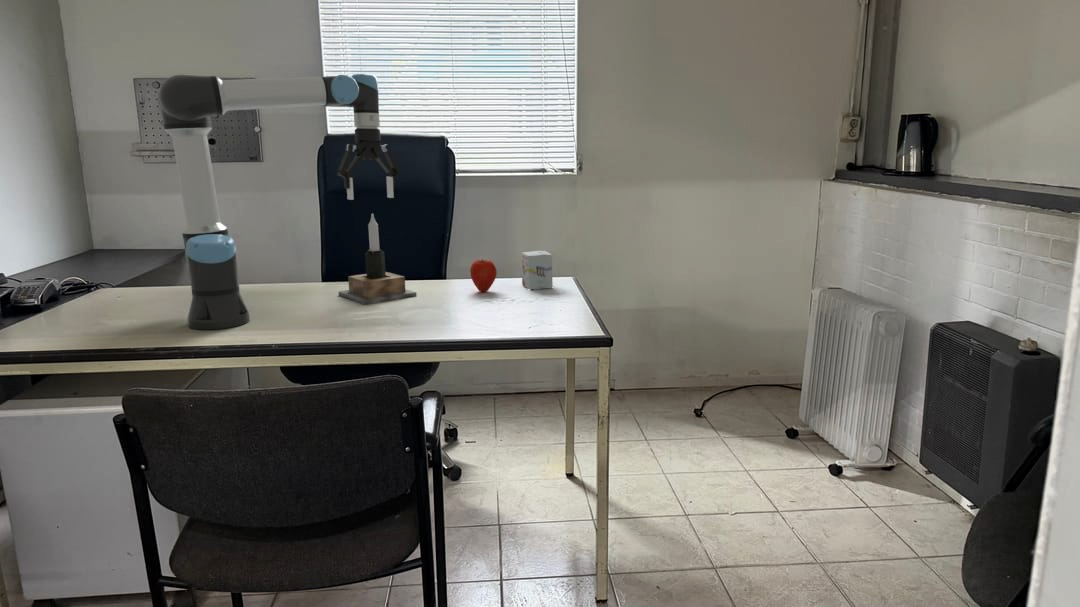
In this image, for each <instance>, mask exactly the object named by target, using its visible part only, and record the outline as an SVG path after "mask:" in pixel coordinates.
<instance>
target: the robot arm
mask: <svg viewBox="0 0 1080 607" xmlns="http://www.w3.org/2000/svg"><path fill="white" fill-rule="evenodd" d="M379 92H380V91H379V84H378V79H377V76H376V75H374V74H369V73H368V74H367V73H356V74H352V75H351V76H350V75H348V74H338V75H334V76H333V75H330V76H310V77H309V76H305V77H300V76H299V77H298V76H297V77H275V78H274V77H271V78H248V79H247V78H245V79H244V78H243V79H239V78H238V79H221V78H220V77H218V76H217V75H213V76H212V75H211V76H208V75H207V76H205V75H192V74H191V75H190V74H175V75H172V76H169V77H168V78H167V79H165V80H164V81H163V82H162V84H161V86H160V88H159V92H158V94H157V95H158V97H157V100H158V105H159V108H160V112H161V118H162V123H163V129H164V132H166V133H167V134H168V135H170V136H171V138H172V145H173V151H174V157H175V161H176V167H177V168H176V170H177V174H178V180H179V186H180V193H181V199H182V204H183V210H184V216H185V222H186V226H185V227H184V229H183V230H182V231H181V233H182V234H181V235H182V240H183V246H184V257H185V262H186V264H187V266H188V270H189V272H188V274H189V279H190V289H191V295H192V296H191V297H192V298H191V302H190V306H189V310H188V315H187V324H188V327H189V328H190V329H193V330H194V329H195V330H206V331H207V330H210V331H211V330H221V329H228V328H229V329H230V328H233V327H234V328H235V327H237V326H238V327H239V326H241V325H245V324H246V323H248V322H250V321H251V320H250V312H249V310H248V309H249V308H247V305H246V304H245V300H244V299H243V297H242V294H241V291H240V284H239V283H240V281H239V273H238V264H237V263H238V262H237V246H236V244H235V241H234V239H233V237H231V236H229V229H228V226H226V225H225V224H224V223H222V222H221V215H220V209H219V204H218V198H217V197H218V196H217V191H216V185H215V178H214V172H213V165H212V159H211V152H210V147H209V141H208V134H210V132H211V131H212V130H213V127H212V121H211V119H212V118H211V116H212V117H213V116H215V117H216V116H221V115H222V116H223V115H225V114H226V113H227V112H229V111H243V110H245V111H247V110H248V111H249V110H261V109H263V110H264V109H282V108H297V107H298V108H299V107H324V108H325V107H326V108H327V107H328V108H330V107H331V108H333V107H335V108H352V109H353V122H354V127H355V129H354V141H355V144H352V143H346V144H345V152H344V154H343V157H342V159H341V162H340V164H339V167H338V169H337V172H336V174H337V176H339V177H342V179H343V188H344V189H346V194H347V195H346V196H347V197H346V198H347V200H350V201H352V200H355V198H354V195H355V194H354V182H353V177H351V176H352V174H353V173H354V171H355V170H356V168H357V167H358V165H360V163H361V162H362V161H364V160H376V162H377V163H378V164H379V165H380V167H381V168H382V169H383V170H384V171H385V173H386V174H387V175H388V176H386V194H387V195H386V197H387V198H389V199H393V198H395V196H394V188H395V187H396V178H397V176H398V175H400V174H401V170H400V168H399V166H398V164H397V162H396V160H395V158H394V155H393V153H392V151H391V149H392V148H391V145H390V144H383V145H381V129H380V128H379V127H380V126H381V122H380V102H379V101H380V100H379V99H380V98H379ZM355 151H356V154H355V155H354V157H353V159H352V161H351V158H352V156H353V152H354V153H355ZM381 151H382V152H383V154H384V156H383V155H382V153H381ZM384 157H385V158H386V160H385V159H384ZM350 161H351V162H350Z"/></svg>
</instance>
